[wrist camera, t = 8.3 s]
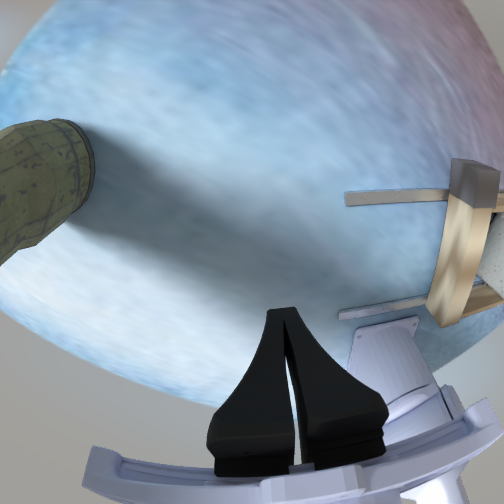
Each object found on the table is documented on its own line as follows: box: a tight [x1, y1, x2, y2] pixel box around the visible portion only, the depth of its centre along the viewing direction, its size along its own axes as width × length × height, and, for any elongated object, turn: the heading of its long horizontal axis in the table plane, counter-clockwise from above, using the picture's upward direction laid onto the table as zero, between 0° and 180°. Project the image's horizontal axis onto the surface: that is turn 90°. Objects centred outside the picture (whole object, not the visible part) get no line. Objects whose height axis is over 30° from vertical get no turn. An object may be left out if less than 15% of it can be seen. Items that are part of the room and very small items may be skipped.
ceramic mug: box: [477, 212, 504, 299], centre depth 18 cm, size 11×8×8 cm
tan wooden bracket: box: [425, 158, 504, 328], centre depth 19 cm, size 15×12×4 cm
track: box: [338, 188, 504, 321], centre depth 22 cm, size 13×23×1 cm, turn 97°
